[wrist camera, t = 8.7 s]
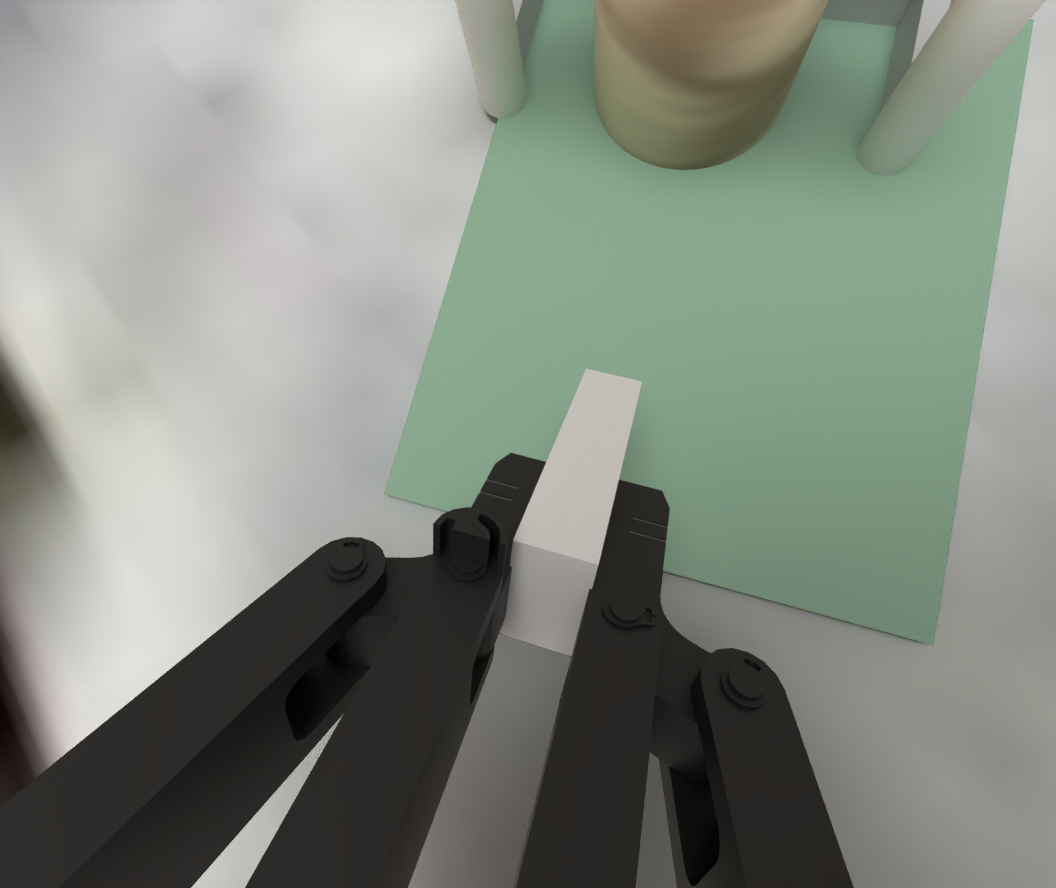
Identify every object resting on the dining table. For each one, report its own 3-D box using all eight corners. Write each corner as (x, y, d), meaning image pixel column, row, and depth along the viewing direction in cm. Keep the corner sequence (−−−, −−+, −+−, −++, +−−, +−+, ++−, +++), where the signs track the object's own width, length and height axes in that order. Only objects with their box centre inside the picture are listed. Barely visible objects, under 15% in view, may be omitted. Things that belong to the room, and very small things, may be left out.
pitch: (1025, 30, 20) (1033, 19, 20) (925, 642, 17) (932, 644, 17) (544, -22, 23) (543, -32, 22) (388, 495, 20) (384, 494, 19)
